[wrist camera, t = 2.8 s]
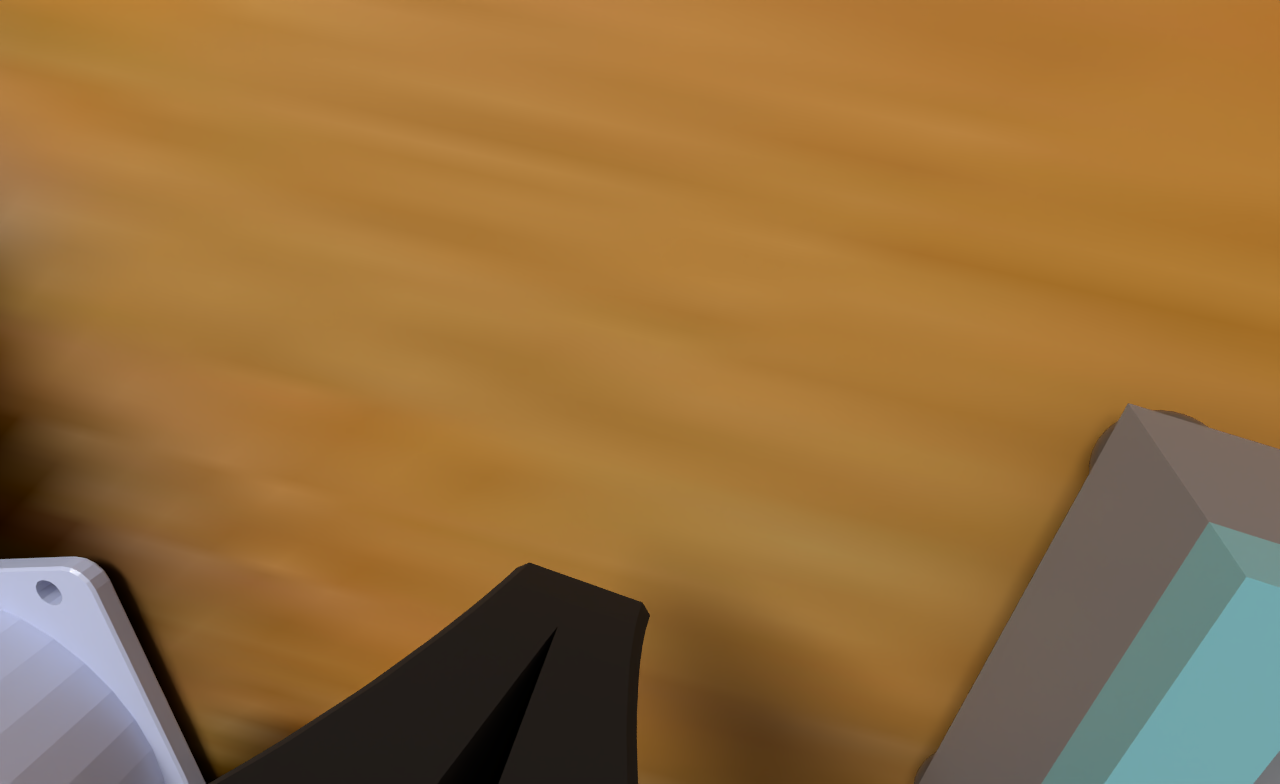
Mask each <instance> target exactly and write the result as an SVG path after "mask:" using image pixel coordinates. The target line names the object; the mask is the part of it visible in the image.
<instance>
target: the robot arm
mask: <svg viewBox="0 0 1280 784" xmlns="http://www.w3.org/2000/svg"><path fill="white" fill-rule="evenodd" d="M649 617H650V615H649V613H648V611H647V610H646V608H645V606H644V604H643V603H642V602H639V601H637V600H634V599H631V598H628V597H625V596H622V595H620V594H617V593H614V592H611V591H608V590H605V589H603V588H600V587H597V586H594V585H591V584H589V583H586V582H583V581H580V580H577V579H574V578H572V577H569V576H566V575H563V574H560V573H557V572H555V571H552V570H549V569H546V568H543V567H540V566H538V565H535V564H532V563H527V564H525V565H522V566H520V567H518V568H516V569H515V570H514V571H513V572H512V573H511V574H510V575H508V576H507V577H506V578H505V579H504V580H503V581H502V582H501V583H499V584H498V585H497V586H496V587H495V588H494V589H492V590H491V591H490V592H489V593H488V594H487V595H485V596H484V597H483V598H482V599H481V600H479V601H478V602H477V603H476V604H475V605H473V606H472V607H471V608H470V609H468V610H467V611H466V612H465V613H463V614H462V615H461V616H460V617H458V618H457V619H456V620H454V621H453V622H452V623H451V624H449V625H448V626H447V627H445V628H444V629H443V630H442V631H440V632H439V633H438V634H437V635H435V636H434V637H433V638H431V639H430V640H428V641H427V642H426V643H424V644H423V645H422V646H420V647H419V648H417V649H416V650H415V651H413V652H412V653H411V654H409V655H408V656H406V657H405V658H404V659H402V660H401V661H400V662H398V663H397V664H395V665H394V666H393V667H391V668H390V669H389V670H387V671H386V672H384V673H383V674H382V675H380V676H379V677H378V678H376V679H375V680H373V681H372V682H370V683H369V684H367V685H366V686H365V687H363V688H362V689H360V690H359V691H357V692H356V693H354V694H353V695H351V696H350V697H348V698H347V699H345V700H343V701H342V702H340V703H339V704H337V705H336V706H334V707H333V708H331V709H330V710H328V711H326V712H325V713H323V714H322V715H320V716H319V717H317V718H316V719H314V720H313V721H311V722H309V723H308V724H306V725H305V726H303V727H302V728H300V729H299V730H297V731H296V732H294V733H292V734H291V735H289V736H288V737H286V738H285V739H283V740H282V741H280V742H278V743H277V744H275V745H273V746H272V747H270V748H268V749H267V750H265V751H263V752H262V753H260V754H258V755H257V756H255V757H253V758H252V759H250V760H248V761H247V762H245V763H243V764H242V765H240V766H238V767H236V768H235V769H233V770H231V771H230V772H228V773H226V774H224V775H223V776H221V777H219V778H217V779H216V780H214V781H212V782H210V783H208V784H638V771H637V699H638V680H639V669H640V659H641V652H642V645H643V640H644V635H645V630H646V627H647V623H648V620H649ZM0 784H206V783H205V780H204V778H203V776H202V774H201V772H200V770H199V768H198V766H197V763H196V761H195V759H194V757H193V755H192V753H191V751H190V749H189V746H188V744H187V742H186V740H185V738H184V736H183V734H182V732H181V729H180V727H179V725H178V723H177V721H176V719H175V717H174V715H173V712H172V710H171V708H170V706H169V704H168V702H167V700H166V698H165V695H164V693H163V691H162V689H161V687H160V685H159V683H158V681H157V679H156V676H155V674H154V672H153V670H152V668H151V666H150V664H149V662H148V659H147V657H146V655H145V653H144V651H143V649H142V647H141V645H140V642H139V640H138V638H137V636H136V634H135V632H134V630H133V628H132V625H131V623H130V621H129V619H128V617H127V615H126V613H125V611H124V608H123V606H122V604H121V602H120V600H119V598H118V596H117V594H116V591H115V589H114V587H113V585H112V583H111V581H110V579H109V577H108V576H107V574H106V573H105V571H104V570H103V569H102V568H101V567H100V566H99V565H98V564H97V563H95V562H93V561H91V560H89V559H87V558H82V557H50V558H24V559H0Z"/></svg>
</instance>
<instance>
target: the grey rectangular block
mask: <svg viewBox="0 0 1280 784" xmlns="http://www.w3.org/2000/svg"><path fill="white" fill-rule="evenodd" d="M1089 472H1090V474H1089V475H1088V477H1087V479H1086V481H1085V483H1084V484H1083V486H1082V488H1081V490H1080V492H1079V494H1078V495H1077V497H1076V499H1075V501H1074V503H1073V504H1072V506H1071V508H1070V510H1069V512H1068V514H1067V515H1066V517H1065V519H1064V521H1063V523H1062V524H1061V526H1060V528H1059V530H1058V532H1057V534H1056V535H1055V537H1054V539H1053V541H1052V543H1051V544H1050V546H1049V548H1048V550H1047V552H1046V554H1045V555H1044V557H1043V559H1042V561H1041V563H1040V564H1039V566H1038V568H1037V570H1036V572H1035V574H1034V575H1033V577H1032V579H1031V581H1030V583H1029V584H1028V586H1027V588H1026V590H1025V592H1024V594H1023V595H1022V597H1021V599H1020V601H1019V603H1018V605H1017V606H1016V608H1015V610H1014V612H1013V614H1012V615H1011V617H1010V619H1009V621H1008V623H1007V625H1006V626H1005V628H1004V630H1003V632H1002V634H1001V635H1000V637H999V639H998V641H997V643H996V645H995V646H994V648H993V650H992V652H991V654H990V655H989V657H988V659H987V661H986V663H985V665H984V666H983V668H982V670H981V672H980V674H979V675H978V677H977V679H976V681H975V683H974V685H973V686H972V688H971V690H970V692H969V694H968V695H967V697H966V699H965V701H964V703H963V705H962V706H961V708H960V710H959V712H958V714H957V715H956V717H955V719H954V721H953V723H952V725H951V726H950V728H949V730H948V732H947V734H946V735H945V737H944V739H943V741H942V743H941V745H940V746H939V748H938V750H937V752H936V753H934V754H932V755H931V756H930V757H929V758H927V759H926V760H925V761H924V762H923V764H922V765H921V767H920V768H919V770H918V772H917V774H916V777H915V780H914V784H1280V449H1277V448H1274V447H1270V446H1267V445H1264V444H1260V443H1257V442H1254V441H1251V440H1247V439H1244V438H1241V437H1237V436H1234V435H1231V434H1228V433H1224V432H1221V431H1218V430H1215V429H1211V428H1209V427H1207V426H1206V425H1204V424H1203V423H1201V422H1199V421H1198V420H1196V419H1194V418H1192V417H1190V416H1187V415H1184V414H1180V413H1176V412H1172V411H1164V410H1153V411H1152V410H1149V409H1146V408H1142V407H1139V406H1136V405H1132V404H1129V403H1128V404H1127V406H1126V408H1125V410H1124V412H1123V414H1122V415H1121V417H1120V419H1119V421H1117V422H1116V423H1114V424H1113V425H1112V426H1110V427H1109V428H1108V429H1107V430H1106V431H1105V432H1104V433H1103V434H1102V435H1101V437H1100V438H1099V439H1098V441H1097V443H1096V444H1095V447H1094V449H1093V451H1092V455H1091V458H1090V465H1089Z"/></svg>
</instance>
